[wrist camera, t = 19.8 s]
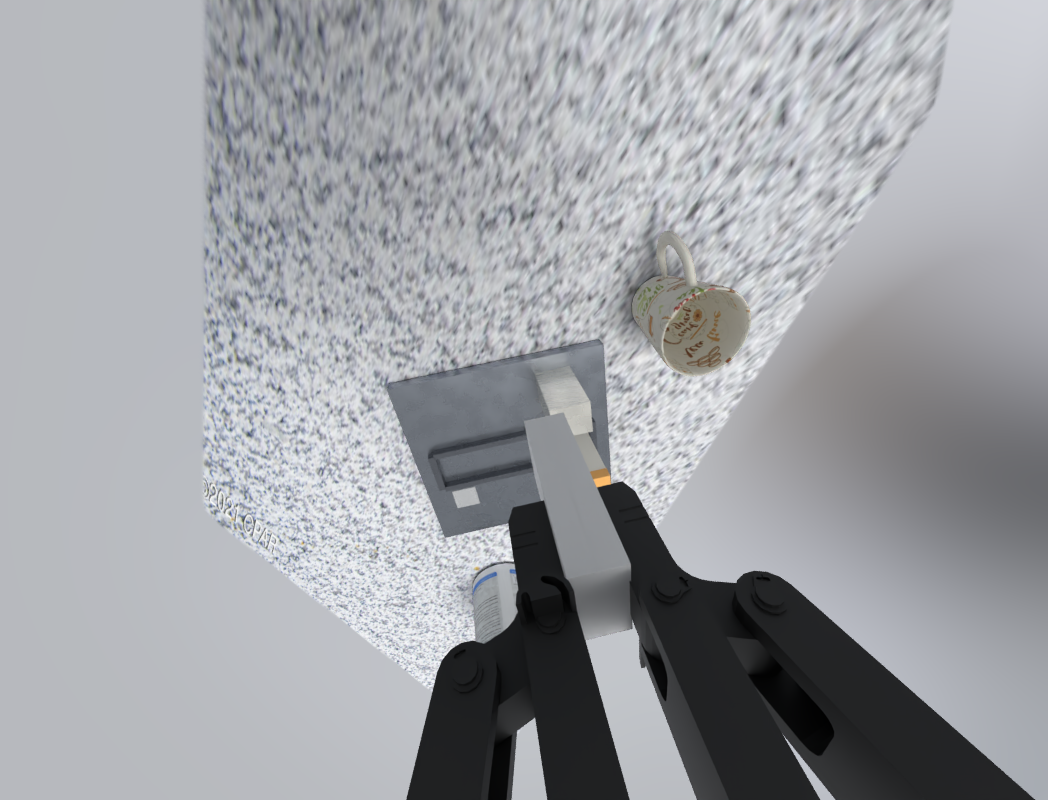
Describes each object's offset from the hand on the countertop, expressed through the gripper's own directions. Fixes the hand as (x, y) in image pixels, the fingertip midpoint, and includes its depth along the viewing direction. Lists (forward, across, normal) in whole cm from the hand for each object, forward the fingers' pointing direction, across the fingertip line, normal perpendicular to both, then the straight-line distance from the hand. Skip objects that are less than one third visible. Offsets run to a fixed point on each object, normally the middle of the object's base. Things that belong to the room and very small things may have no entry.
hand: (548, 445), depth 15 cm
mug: (+29, +17, -4) cm, 34 cm away
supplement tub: (+29, -8, -47) cm, 56 cm away
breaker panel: (+28, -1, -21) cm, 35 cm away
